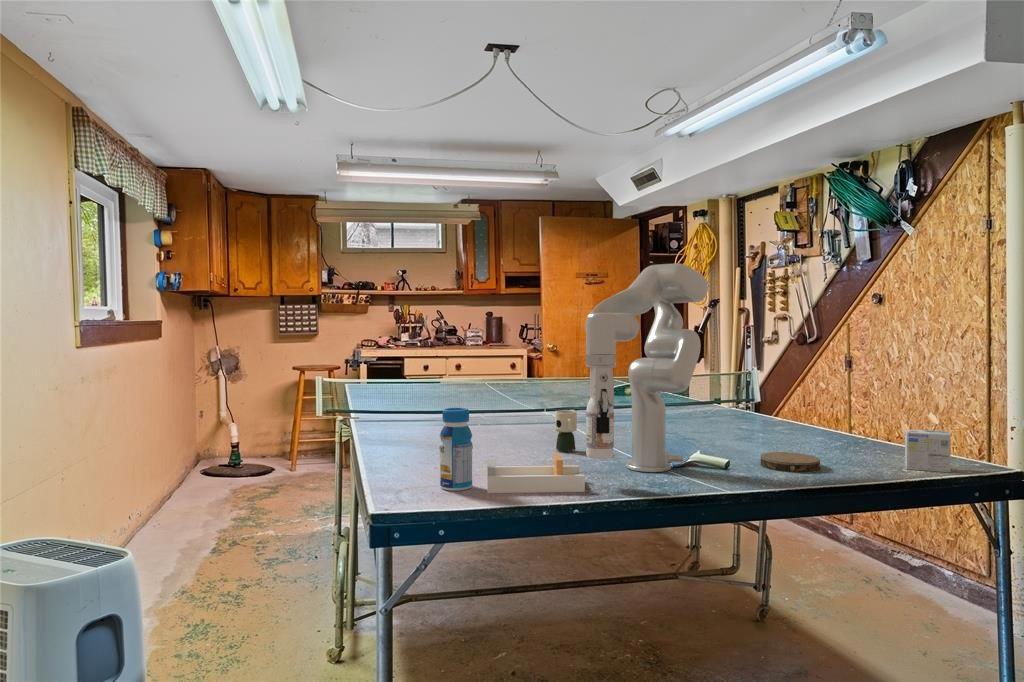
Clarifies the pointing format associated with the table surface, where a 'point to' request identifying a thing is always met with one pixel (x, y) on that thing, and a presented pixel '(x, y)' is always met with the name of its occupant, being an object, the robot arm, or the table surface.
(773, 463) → the brown round disc
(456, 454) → the beverage bottle
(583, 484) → the pusher lane
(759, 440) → the table surface
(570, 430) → the character mug
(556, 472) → the orange rectangular block
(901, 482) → the table surface
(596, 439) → the bath foam
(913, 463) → the light bulb box
